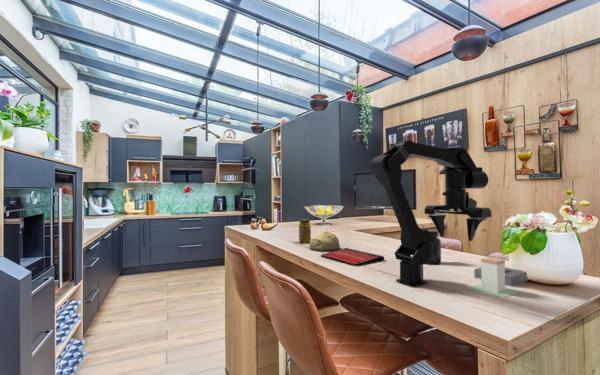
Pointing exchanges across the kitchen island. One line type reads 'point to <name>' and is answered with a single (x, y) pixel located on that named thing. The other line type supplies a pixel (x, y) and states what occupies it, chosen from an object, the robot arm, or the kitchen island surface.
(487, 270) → the plug
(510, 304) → the kitchen island surface
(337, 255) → the binder
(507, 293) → the mat
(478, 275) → the grey square socket block
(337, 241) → the tan lumpy mound
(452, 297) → the kitchen island surface
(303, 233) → the condiment
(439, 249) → the supplement bottle
